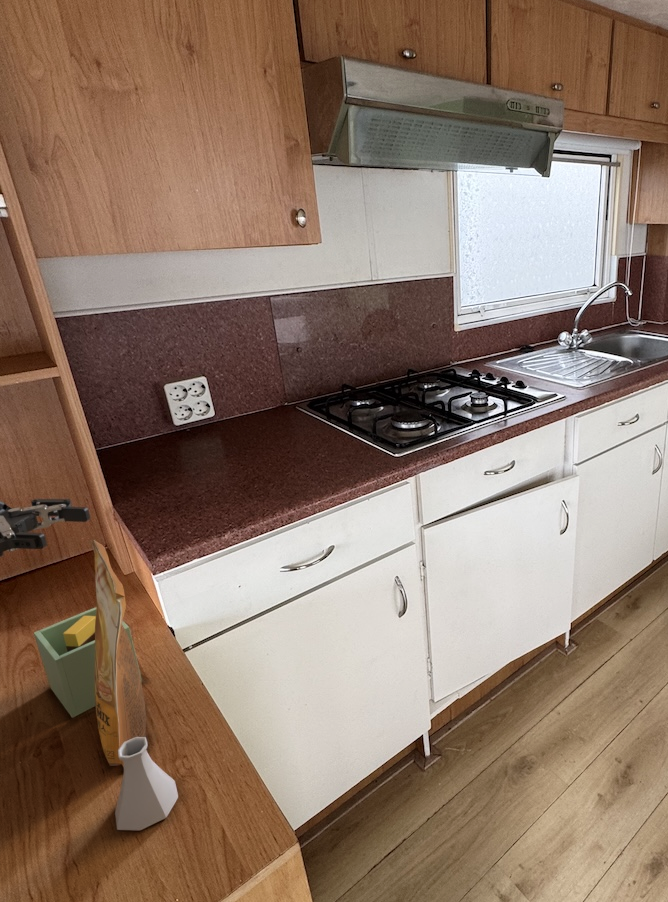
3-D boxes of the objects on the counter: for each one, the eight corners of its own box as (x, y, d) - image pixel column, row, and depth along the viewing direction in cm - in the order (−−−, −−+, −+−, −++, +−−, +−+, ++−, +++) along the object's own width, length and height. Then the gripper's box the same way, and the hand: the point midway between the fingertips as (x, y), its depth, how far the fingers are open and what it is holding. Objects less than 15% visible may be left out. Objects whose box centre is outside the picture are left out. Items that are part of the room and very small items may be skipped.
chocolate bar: (78, 690, 92) (62, 633, 88) (98, 670, 96) (84, 615, 93) (91, 691, 92) (75, 634, 88) (111, 671, 96) (96, 615, 92)
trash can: (72, 718, 88) (55, 660, 84) (50, 687, 94) (33, 632, 90) (142, 681, 95) (129, 627, 92) (118, 655, 101) (105, 603, 97)
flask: (183, 775, 79) (171, 718, 76) (173, 823, 72) (158, 763, 69) (123, 789, 77) (107, 731, 73) (106, 840, 70) (88, 779, 67)
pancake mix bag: (150, 680, 95) (115, 529, 86) (163, 763, 81) (123, 592, 71) (101, 697, 92) (60, 541, 82) (105, 787, 77) (55, 610, 68)
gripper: (10, 524, 94) (105, 527, 94) (-77, 571, 81) (34, 575, 80) (-3, 482, 92) (95, 485, 91) (-95, 522, 78) (20, 526, 78)
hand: (66, 527), depth 86 cm, fingers open, 8 cm apart
